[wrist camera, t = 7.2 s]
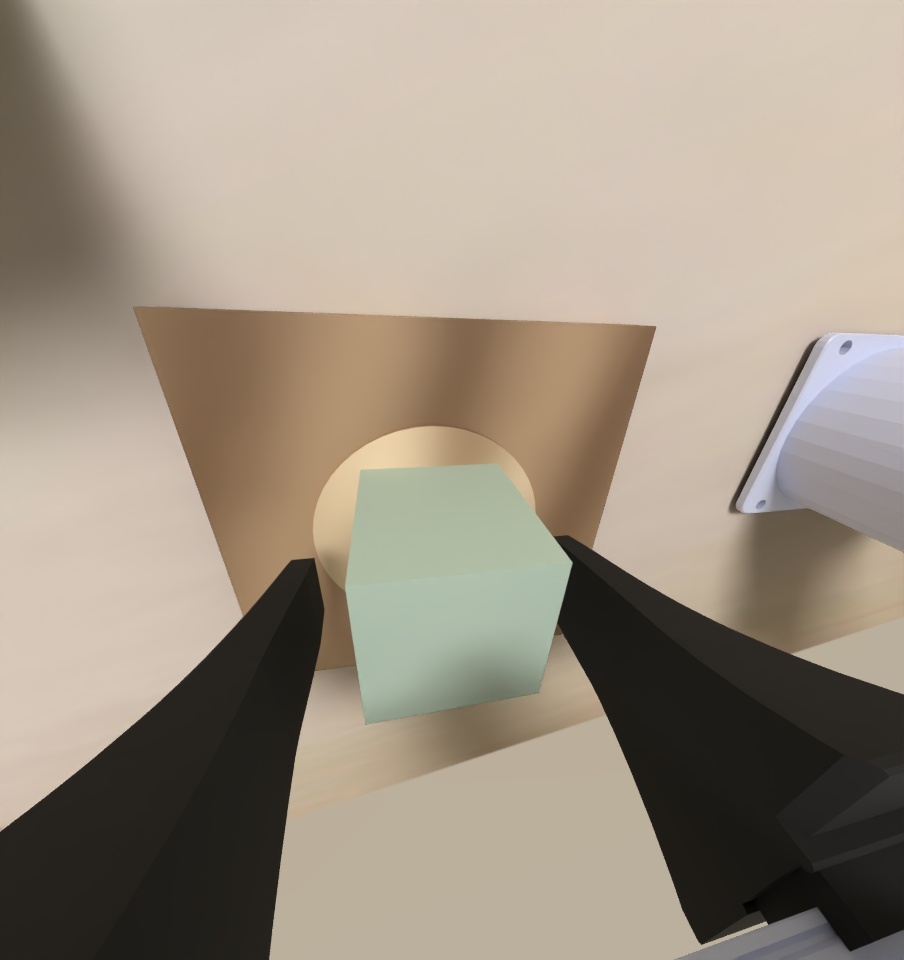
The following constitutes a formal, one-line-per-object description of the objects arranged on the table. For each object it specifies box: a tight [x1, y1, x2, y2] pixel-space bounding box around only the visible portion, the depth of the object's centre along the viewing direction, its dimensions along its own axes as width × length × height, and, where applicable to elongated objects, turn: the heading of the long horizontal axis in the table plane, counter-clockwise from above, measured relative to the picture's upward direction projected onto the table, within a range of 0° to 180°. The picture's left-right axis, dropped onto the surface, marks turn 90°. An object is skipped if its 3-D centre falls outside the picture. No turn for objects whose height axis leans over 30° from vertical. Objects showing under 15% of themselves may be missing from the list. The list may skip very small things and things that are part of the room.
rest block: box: [345, 464, 573, 725], centre depth 10 cm, size 4×4×5 cm
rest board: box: [133, 307, 656, 671], centre depth 13 cm, size 14×14×1 cm
